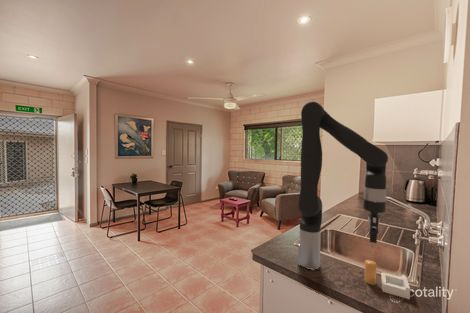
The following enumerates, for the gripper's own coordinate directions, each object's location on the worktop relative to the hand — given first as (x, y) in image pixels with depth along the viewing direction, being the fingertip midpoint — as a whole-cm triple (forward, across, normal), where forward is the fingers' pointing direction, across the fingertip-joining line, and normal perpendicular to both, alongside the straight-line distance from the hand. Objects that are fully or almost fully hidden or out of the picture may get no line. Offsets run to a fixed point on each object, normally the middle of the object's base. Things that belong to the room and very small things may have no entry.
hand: (372, 238), depth 85 cm
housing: (+18, 0, +8) cm, 20 cm away
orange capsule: (+18, 0, 0) cm, 18 cm away
